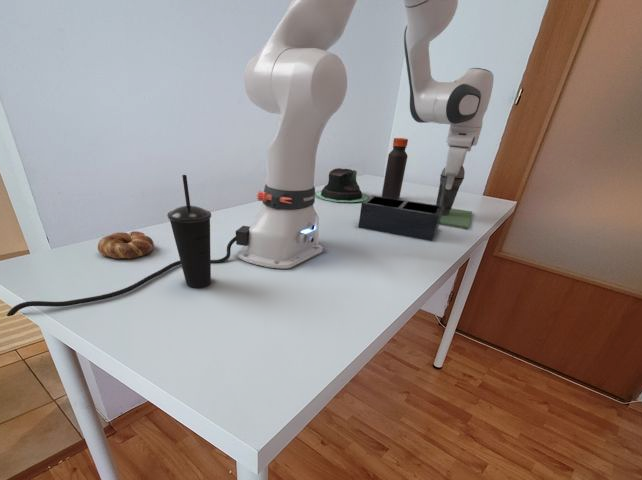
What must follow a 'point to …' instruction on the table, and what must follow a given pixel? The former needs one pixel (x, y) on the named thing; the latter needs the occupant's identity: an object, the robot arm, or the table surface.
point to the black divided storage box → (400, 217)
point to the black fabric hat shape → (342, 187)
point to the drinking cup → (192, 241)
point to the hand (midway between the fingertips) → (449, 186)
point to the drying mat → (457, 218)
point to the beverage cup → (449, 191)
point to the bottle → (395, 169)
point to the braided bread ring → (125, 245)
